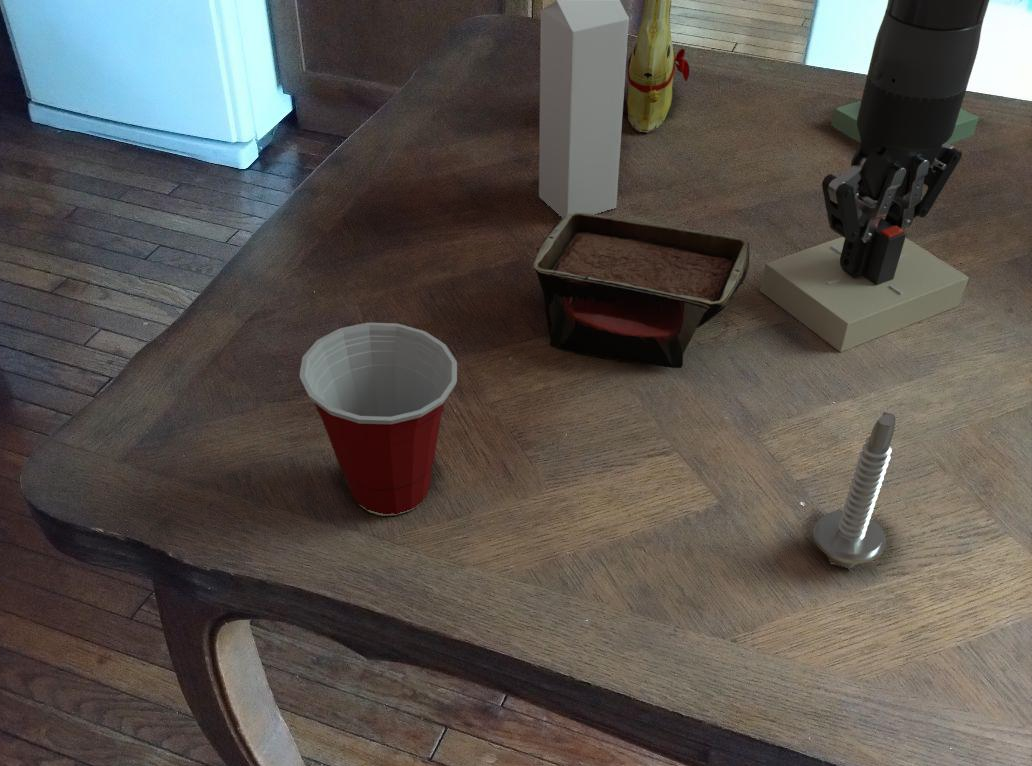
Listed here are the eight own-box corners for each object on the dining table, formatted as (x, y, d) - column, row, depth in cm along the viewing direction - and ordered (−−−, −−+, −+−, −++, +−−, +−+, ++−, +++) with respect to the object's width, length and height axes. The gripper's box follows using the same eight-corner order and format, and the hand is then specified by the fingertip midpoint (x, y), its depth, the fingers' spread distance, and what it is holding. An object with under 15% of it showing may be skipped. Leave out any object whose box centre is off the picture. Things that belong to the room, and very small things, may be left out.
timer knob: (839, 260, 96) (851, 212, 93) (856, 254, 97) (868, 206, 94) (876, 285, 93) (889, 237, 90) (893, 279, 94) (907, 231, 91)
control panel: (874, 250, 103) (882, 221, 101) (959, 306, 96) (970, 275, 94) (759, 291, 99) (765, 261, 96) (840, 352, 92) (848, 322, 89)
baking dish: (586, 281, 104) (572, 188, 97) (767, 299, 96) (766, 199, 89) (526, 373, 96) (505, 278, 89) (718, 400, 88) (713, 299, 81)
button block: (909, 103, 125) (918, 68, 122) (973, 136, 119) (984, 101, 116) (830, 127, 121) (837, 92, 118) (892, 162, 115) (901, 126, 112)
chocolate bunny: (619, 138, 120) (628, -2, 110) (630, 97, 128) (640, -38, 117) (679, 143, 119) (695, 2, 108) (687, 101, 127) (703, -35, 116)
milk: (538, 198, 111) (538, -28, 96) (588, 184, 113) (596, -40, 97) (567, 224, 108) (572, -7, 92) (618, 209, 109) (631, -20, 94)
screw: (865, 528, 77) (888, 578, 74) (800, 533, 77) (819, 583, 74) (912, 386, 68) (941, 435, 64) (838, 391, 67) (862, 441, 64)
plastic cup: (448, 550, 76) (439, 422, 68) (305, 534, 78) (278, 406, 69) (476, 451, 84) (471, 324, 75) (344, 438, 85) (324, 312, 77)
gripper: (884, 112, 78) (834, 311, 90) (1020, 71, 82) (955, 266, 95) (816, 76, 83) (777, 270, 95) (949, 38, 87) (895, 228, 100)
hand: (866, 267), depth 95 cm, fingers open, 3 cm apart
